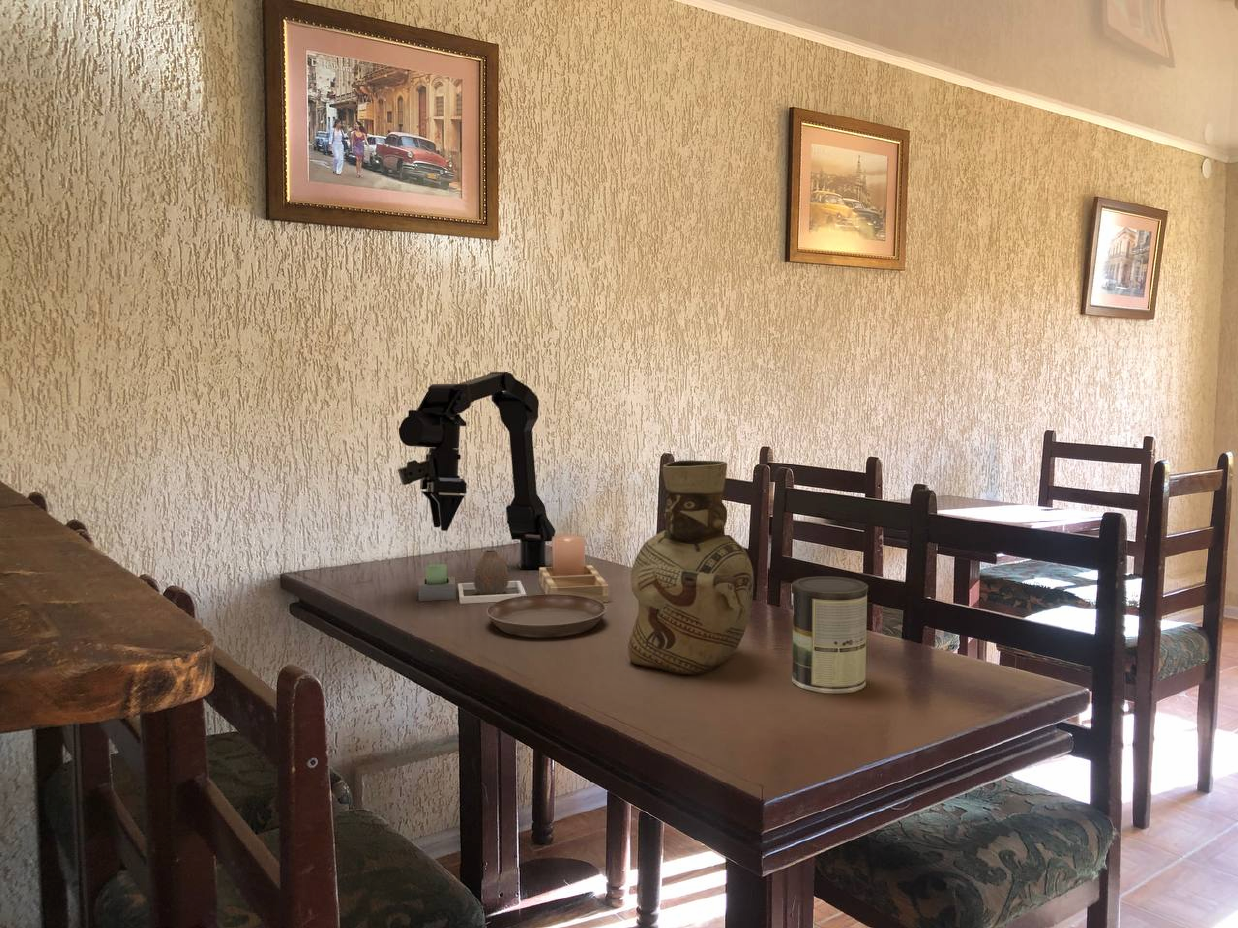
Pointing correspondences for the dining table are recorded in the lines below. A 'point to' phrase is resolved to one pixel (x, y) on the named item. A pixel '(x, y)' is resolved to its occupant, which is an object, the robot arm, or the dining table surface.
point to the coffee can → (829, 634)
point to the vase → (490, 574)
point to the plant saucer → (546, 615)
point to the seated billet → (568, 555)
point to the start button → (436, 574)
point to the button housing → (436, 590)
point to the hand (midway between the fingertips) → (440, 528)
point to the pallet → (575, 584)
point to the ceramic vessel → (691, 578)
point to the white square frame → (488, 598)
